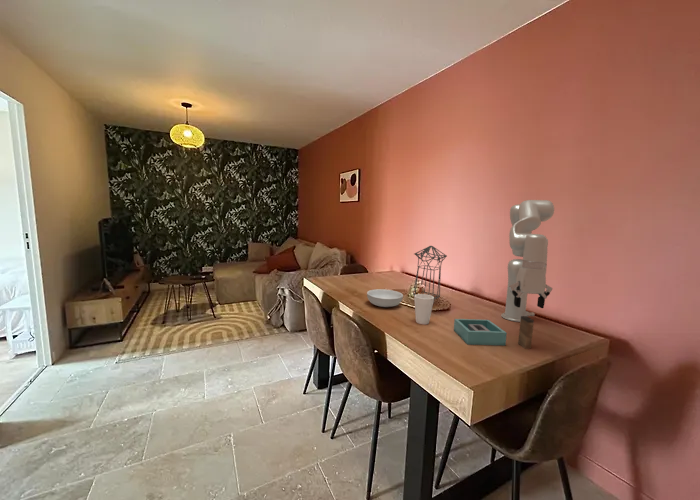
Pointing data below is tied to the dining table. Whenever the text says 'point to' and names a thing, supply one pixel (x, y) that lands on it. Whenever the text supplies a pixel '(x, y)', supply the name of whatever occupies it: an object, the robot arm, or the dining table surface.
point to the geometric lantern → (429, 267)
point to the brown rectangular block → (525, 332)
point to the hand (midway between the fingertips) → (528, 306)
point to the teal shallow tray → (479, 332)
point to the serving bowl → (384, 297)
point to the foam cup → (423, 308)
